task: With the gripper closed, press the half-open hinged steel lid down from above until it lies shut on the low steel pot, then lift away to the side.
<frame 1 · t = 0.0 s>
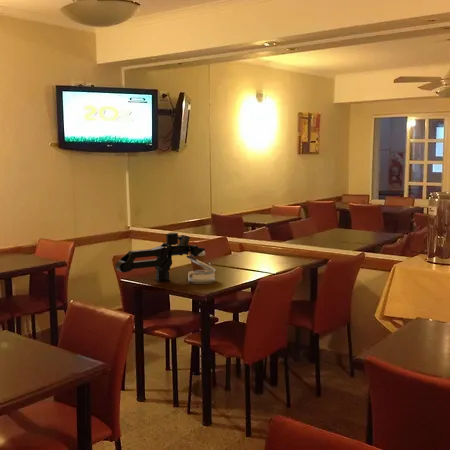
hand: (200, 248, 343), 17 cm above the table, tool horizontal, fingers open, 9 cm apart
lid: (202, 262, 328), point 11 cm above the table, hinge at 30.0°
pot: (201, 281, 329), on the table
disposable coffee cup: (197, 270, 360), on the table
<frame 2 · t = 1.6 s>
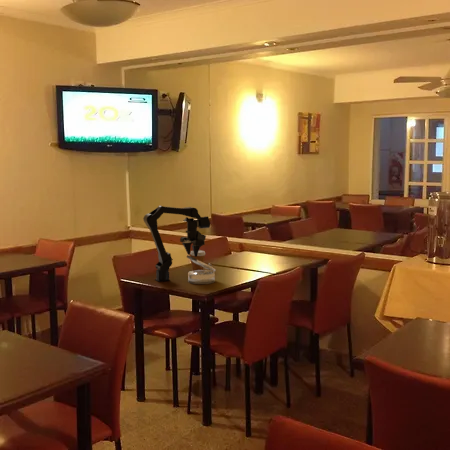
hand: (192, 255, 337), 13 cm above the table, tool pointing down, fingers open, 8 cm apart
nothing on the table moved.
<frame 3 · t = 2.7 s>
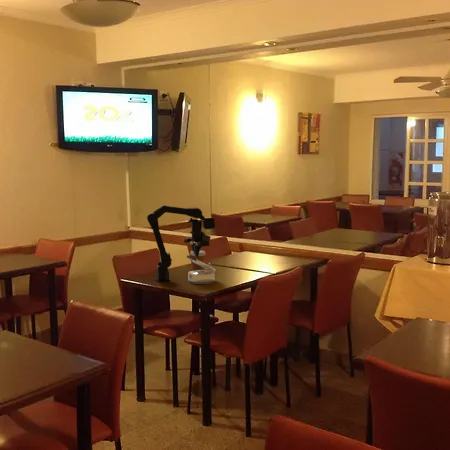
hand: (196, 256, 333), 13 cm above the table, tool pointing down, fingers closed
nothing on the table moved.
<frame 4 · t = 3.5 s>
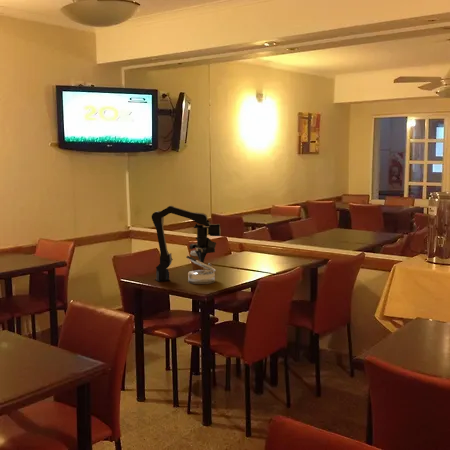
hand: (202, 263, 328), 10 cm above the table, tool pointing down, fingers closed, pressing on lid
lid: (201, 262, 328), point 11 cm above the table, hinge at 29.1°, touching gripper
everything else where it was.
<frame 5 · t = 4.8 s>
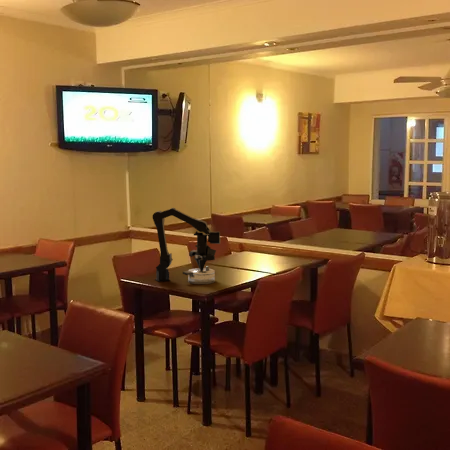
hand: (201, 270, 328), 6 cm above the table, tool pointing down, fingers closed, pressing on lid
lid: (199, 270, 327), point 7 cm above the table, hinge at 0.1°, touching gripper
everything else where it was.
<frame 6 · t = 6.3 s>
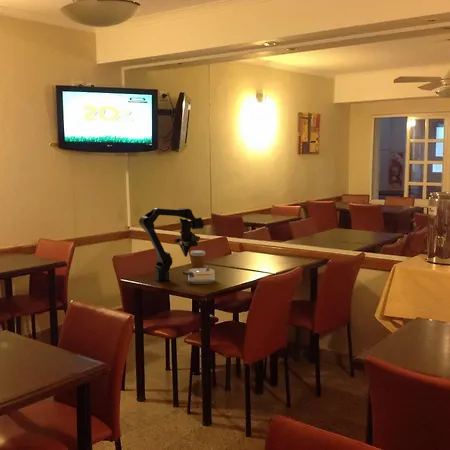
hand: (185, 256, 337), 12 cm above the table, tool pointing down, fingers closed
lid: (199, 270, 327), point 7 cm above the table, hinge at 0.1°
everything else where it was.
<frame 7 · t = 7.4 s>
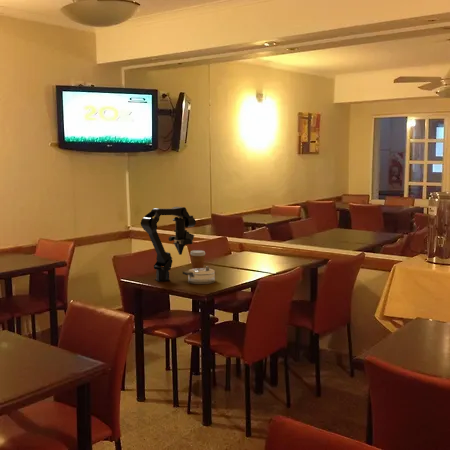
hand: (180, 254, 340), 13 cm above the table, tool pointing down, fingers closed
nothing on the table moved.
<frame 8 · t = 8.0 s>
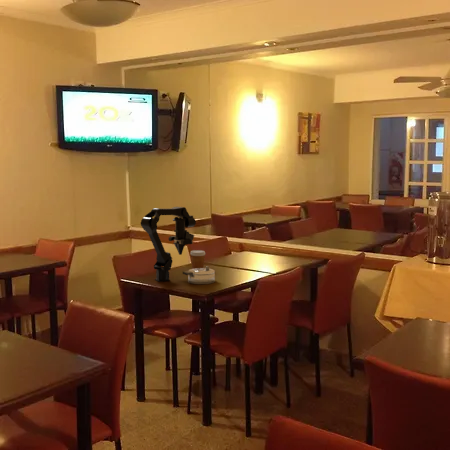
hand: (180, 254, 340), 13 cm above the table, tool pointing down, fingers closed
nothing on the table moved.
at the end: lid at +0° (first picture: +30°); the gripper is holding nothing; disposable coffee cup moved 0.2 cm from its start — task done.
